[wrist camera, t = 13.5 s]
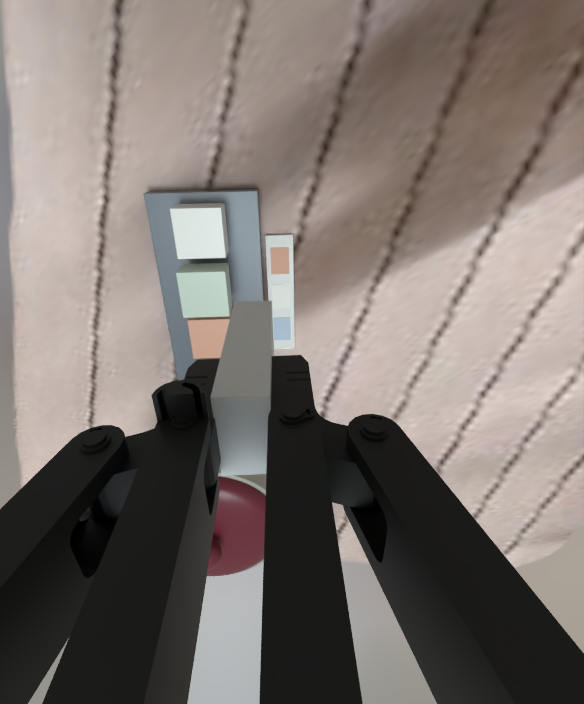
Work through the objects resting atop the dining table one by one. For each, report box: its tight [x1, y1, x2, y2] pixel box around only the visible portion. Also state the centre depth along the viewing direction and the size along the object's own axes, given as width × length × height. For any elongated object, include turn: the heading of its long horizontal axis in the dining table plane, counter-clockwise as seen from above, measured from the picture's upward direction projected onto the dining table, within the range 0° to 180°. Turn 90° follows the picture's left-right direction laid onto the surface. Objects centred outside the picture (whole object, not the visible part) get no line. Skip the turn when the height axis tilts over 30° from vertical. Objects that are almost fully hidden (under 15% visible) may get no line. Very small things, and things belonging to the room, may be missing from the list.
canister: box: [207, 467, 266, 576], centre depth 51 cm, size 18×18×21 cm
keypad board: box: [144, 189, 264, 381], centre depth 48 cm, size 25×12×4 cm, turn 1°
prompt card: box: [265, 234, 295, 349], centre depth 49 cm, size 15×3×1 cm, turn 1°
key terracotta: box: [187, 308, 233, 359], centre depth 47 cm, size 5×5×3 cm
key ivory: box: [170, 203, 229, 259], centre depth 41 cm, size 5×5×3 cm
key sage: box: [176, 263, 232, 318], centre depth 43 cm, size 5×5×3 cm
